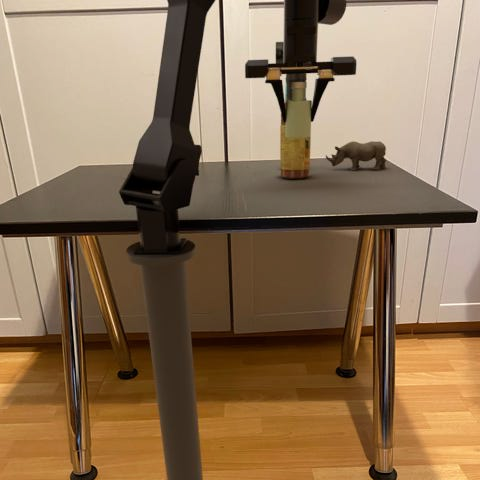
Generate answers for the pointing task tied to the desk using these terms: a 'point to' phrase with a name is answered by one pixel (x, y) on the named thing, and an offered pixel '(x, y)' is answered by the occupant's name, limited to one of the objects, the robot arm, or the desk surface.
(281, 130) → the sauce bottle
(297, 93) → the small bottle
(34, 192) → the desk surface
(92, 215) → the desk surface
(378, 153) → the rhino figurine
